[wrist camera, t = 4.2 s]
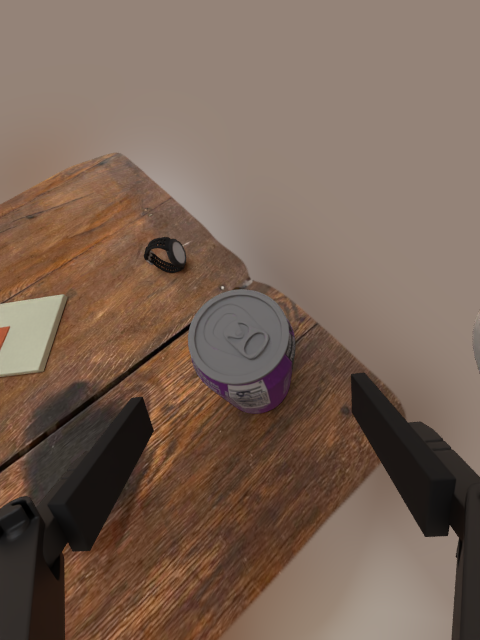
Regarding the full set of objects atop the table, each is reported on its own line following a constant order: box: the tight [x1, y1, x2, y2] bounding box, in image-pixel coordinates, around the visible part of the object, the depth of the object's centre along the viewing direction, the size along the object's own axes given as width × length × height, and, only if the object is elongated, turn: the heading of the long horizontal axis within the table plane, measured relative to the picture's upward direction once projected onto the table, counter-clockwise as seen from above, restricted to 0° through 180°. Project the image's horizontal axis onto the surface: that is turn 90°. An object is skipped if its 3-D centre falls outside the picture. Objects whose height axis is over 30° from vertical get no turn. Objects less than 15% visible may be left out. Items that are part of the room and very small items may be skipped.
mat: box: [0, 295, 68, 377], centre depth 32 cm, size 14×11×1 cm
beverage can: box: [188, 289, 295, 414], centre depth 19 cm, size 7×7×12 cm
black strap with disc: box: [144, 237, 186, 273], centre depth 31 cm, size 4×5×5 cm
